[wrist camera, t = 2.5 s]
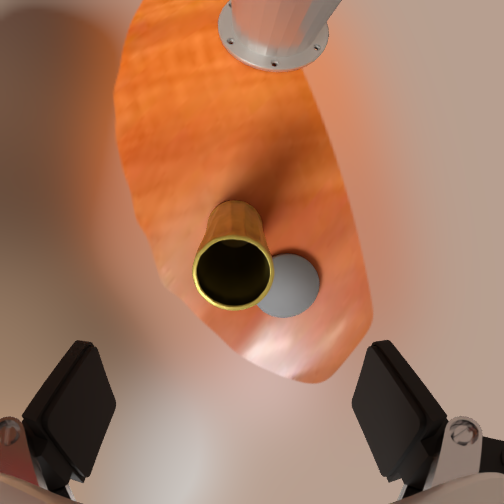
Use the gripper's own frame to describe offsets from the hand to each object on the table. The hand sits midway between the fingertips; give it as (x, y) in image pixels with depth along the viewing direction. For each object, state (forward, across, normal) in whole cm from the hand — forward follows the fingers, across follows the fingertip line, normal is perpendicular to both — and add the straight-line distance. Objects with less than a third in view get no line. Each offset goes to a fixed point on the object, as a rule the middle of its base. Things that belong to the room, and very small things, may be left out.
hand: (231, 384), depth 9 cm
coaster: (+24, -6, +7) cm, 26 cm away
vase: (+24, 0, 0) cm, 24 cm away
